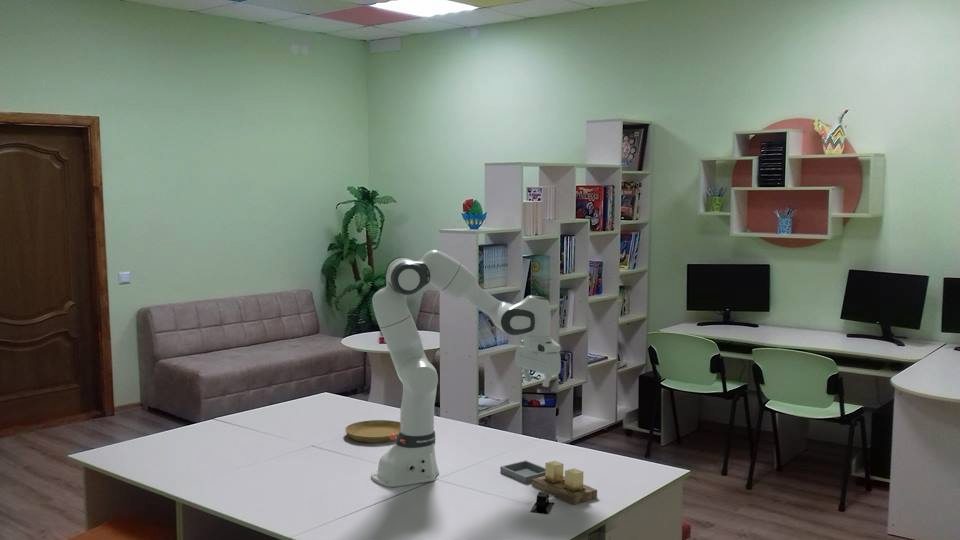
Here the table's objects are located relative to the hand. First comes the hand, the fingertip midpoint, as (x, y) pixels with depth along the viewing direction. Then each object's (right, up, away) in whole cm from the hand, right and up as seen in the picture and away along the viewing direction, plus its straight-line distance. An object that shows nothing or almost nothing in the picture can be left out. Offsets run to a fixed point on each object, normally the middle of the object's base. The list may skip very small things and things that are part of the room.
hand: (536, 383), depth 282 cm
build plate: (-1, -33, -35) cm, 48 cm away
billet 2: (+10, -31, -26) cm, 42 cm away
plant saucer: (-59, -25, +37) cm, 74 cm away
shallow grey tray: (-4, -29, -8) cm, 31 cm away
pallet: (+7, -31, -23) cm, 39 cm away
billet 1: (+4, -30, -19) cm, 36 cm away
